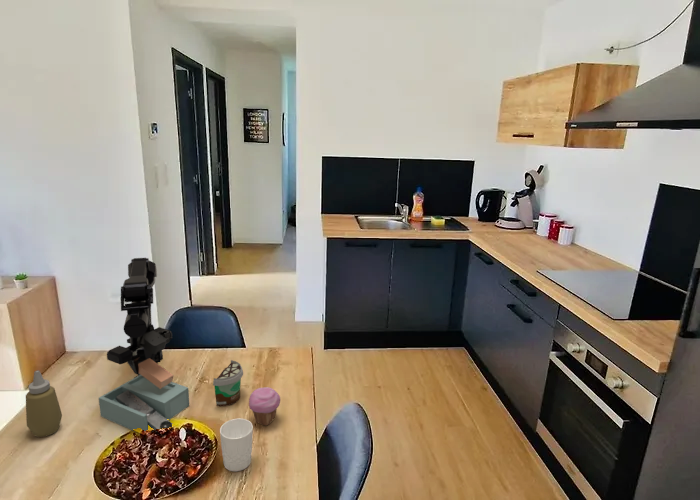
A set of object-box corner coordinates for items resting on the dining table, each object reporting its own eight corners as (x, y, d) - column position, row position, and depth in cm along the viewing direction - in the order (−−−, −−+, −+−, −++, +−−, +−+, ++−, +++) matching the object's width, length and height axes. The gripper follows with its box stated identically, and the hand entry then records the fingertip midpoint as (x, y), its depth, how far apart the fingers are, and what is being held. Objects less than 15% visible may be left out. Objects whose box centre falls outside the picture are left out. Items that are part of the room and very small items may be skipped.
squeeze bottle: (70, 425, 126) (62, 367, 121) (43, 443, 118) (33, 382, 114) (49, 418, 128) (40, 361, 123) (21, 435, 121) (10, 375, 116)
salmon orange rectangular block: (136, 371, 134) (137, 364, 133) (148, 364, 138) (149, 358, 137) (160, 389, 131) (161, 382, 130) (172, 381, 135) (173, 375, 134)
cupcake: (270, 433, 126) (269, 402, 123) (243, 425, 128) (242, 394, 126) (285, 415, 134) (285, 385, 131) (259, 408, 136) (259, 379, 134)
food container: (233, 412, 134) (232, 382, 132) (214, 409, 135) (212, 379, 133) (250, 389, 146) (249, 361, 143) (232, 386, 147) (231, 359, 144)
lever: (115, 399, 128) (116, 395, 128) (127, 392, 132) (128, 388, 131) (163, 437, 122) (164, 432, 122) (174, 428, 126) (175, 424, 125)
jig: (100, 416, 130) (98, 397, 128) (146, 389, 144) (145, 372, 142) (145, 436, 123) (143, 416, 121) (189, 405, 136) (188, 387, 135)
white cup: (224, 451, 118) (223, 418, 115) (255, 451, 119) (254, 418, 116) (218, 474, 110) (216, 439, 108) (251, 473, 111) (250, 438, 108)
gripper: (131, 341, 121) (136, 393, 125) (183, 317, 137) (186, 363, 141) (102, 332, 125) (108, 382, 129) (157, 309, 141) (160, 354, 146)
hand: (143, 370), depth 136 cm, fingers closed on salmon orange rectangular block, 4 cm apart
